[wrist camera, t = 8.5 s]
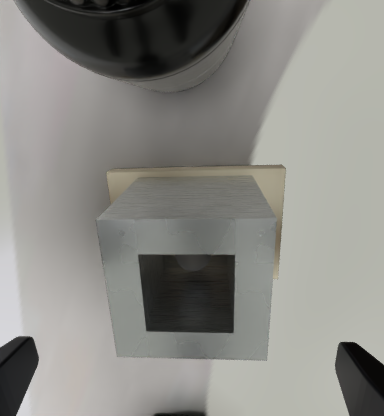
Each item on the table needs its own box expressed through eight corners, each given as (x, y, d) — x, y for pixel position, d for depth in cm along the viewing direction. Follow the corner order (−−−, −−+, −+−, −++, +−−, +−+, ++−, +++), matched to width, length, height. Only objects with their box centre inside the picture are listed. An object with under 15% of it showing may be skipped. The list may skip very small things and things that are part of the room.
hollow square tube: (248, 275, 18) (267, 360, 12) (147, 274, 19) (117, 356, 13) (252, 175, 16) (277, 218, 10) (138, 177, 16) (95, 219, 10)
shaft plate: (274, 270, 19) (294, 323, 14) (125, 270, 20) (98, 320, 15) (281, 164, 17) (308, 188, 12) (111, 168, 17) (75, 192, 13)
